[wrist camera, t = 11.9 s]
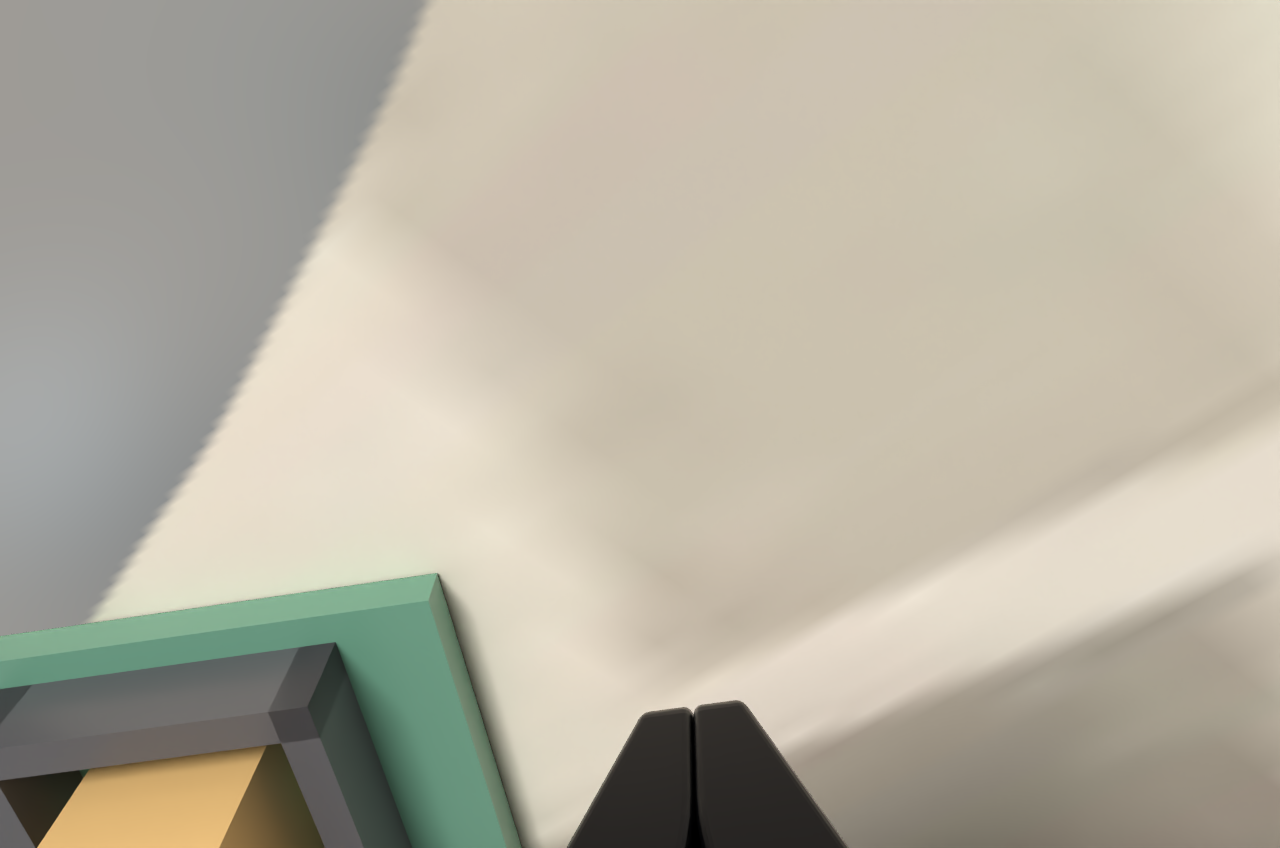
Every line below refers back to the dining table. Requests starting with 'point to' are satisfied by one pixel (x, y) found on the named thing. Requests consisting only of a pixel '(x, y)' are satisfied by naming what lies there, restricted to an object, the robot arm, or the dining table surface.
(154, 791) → the plug
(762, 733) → the robot arm
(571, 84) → the dining table surface
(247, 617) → the socket board
